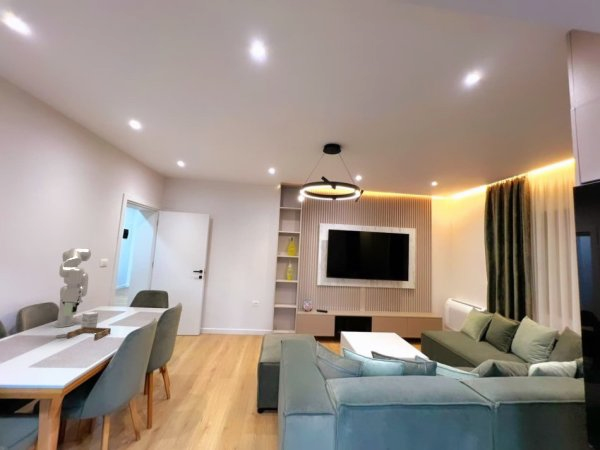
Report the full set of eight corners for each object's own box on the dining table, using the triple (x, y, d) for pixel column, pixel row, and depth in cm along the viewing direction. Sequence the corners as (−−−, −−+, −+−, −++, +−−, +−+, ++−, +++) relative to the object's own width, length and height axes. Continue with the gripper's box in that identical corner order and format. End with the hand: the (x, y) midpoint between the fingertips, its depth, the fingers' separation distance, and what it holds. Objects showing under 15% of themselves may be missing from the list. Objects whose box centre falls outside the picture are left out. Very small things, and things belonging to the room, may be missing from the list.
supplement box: (80, 329, 214) (82, 313, 216) (90, 327, 221) (92, 311, 222) (86, 331, 212) (88, 314, 213) (96, 328, 218) (98, 312, 220)
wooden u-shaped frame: (83, 332, 209) (84, 326, 209) (110, 333, 209) (110, 328, 209) (66, 338, 194) (67, 332, 194) (95, 340, 194) (96, 334, 194)
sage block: (69, 313, 199) (70, 301, 200) (76, 314, 199) (77, 301, 200) (63, 315, 194) (65, 302, 195) (70, 315, 194) (72, 303, 195)
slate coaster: (62, 334, 202) (62, 333, 202) (73, 335, 202) (73, 334, 202) (52, 337, 194) (52, 337, 194) (64, 338, 194) (64, 337, 194)
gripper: (89, 286, 202) (86, 311, 201) (66, 284, 202) (62, 309, 200) (81, 287, 194) (78, 313, 193) (57, 285, 194) (53, 312, 193)
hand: (70, 311), depth 197 cm, fingers closed on sage block, 5 cm apart
